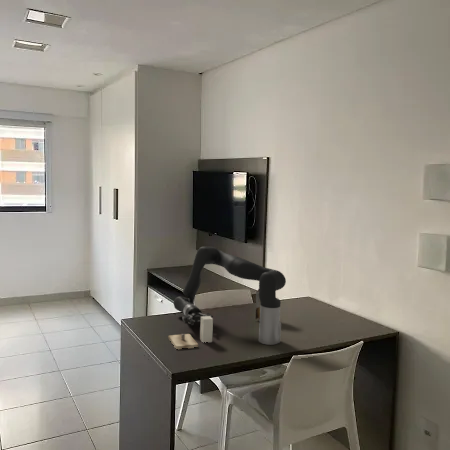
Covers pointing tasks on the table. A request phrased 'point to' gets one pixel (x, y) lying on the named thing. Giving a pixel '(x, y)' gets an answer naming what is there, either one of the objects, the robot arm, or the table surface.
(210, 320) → the block
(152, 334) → the table surface
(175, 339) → the pin dock
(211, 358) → the table surface
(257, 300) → the coffee box
